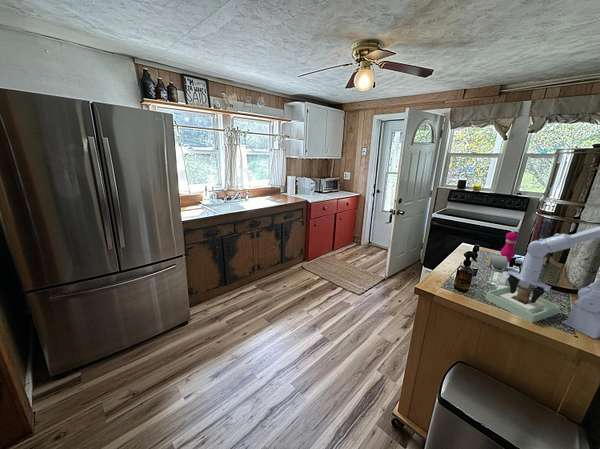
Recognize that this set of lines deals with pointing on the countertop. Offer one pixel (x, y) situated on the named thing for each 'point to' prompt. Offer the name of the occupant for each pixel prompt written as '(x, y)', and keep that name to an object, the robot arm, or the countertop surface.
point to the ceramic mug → (497, 262)
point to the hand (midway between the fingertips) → (522, 297)
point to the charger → (520, 284)
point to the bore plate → (528, 307)
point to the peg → (523, 295)
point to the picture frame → (548, 309)
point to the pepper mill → (509, 245)
